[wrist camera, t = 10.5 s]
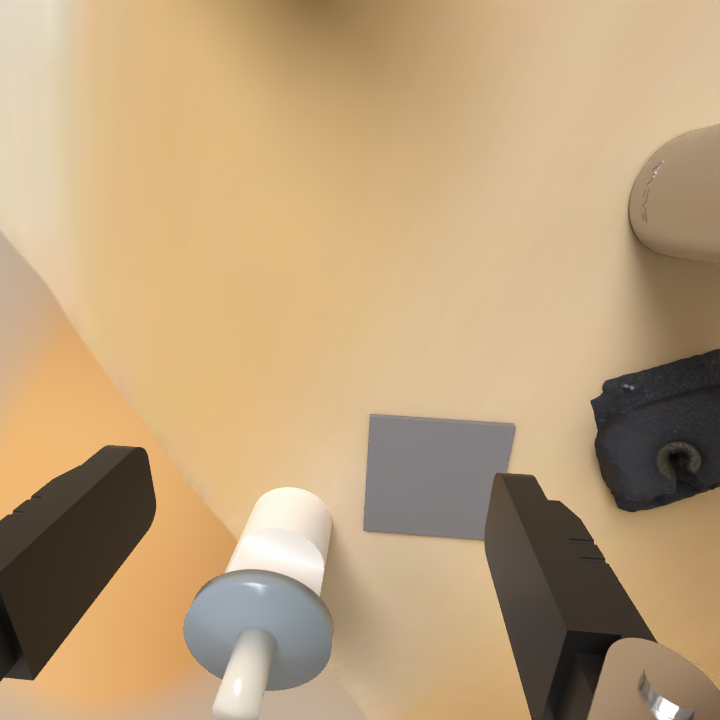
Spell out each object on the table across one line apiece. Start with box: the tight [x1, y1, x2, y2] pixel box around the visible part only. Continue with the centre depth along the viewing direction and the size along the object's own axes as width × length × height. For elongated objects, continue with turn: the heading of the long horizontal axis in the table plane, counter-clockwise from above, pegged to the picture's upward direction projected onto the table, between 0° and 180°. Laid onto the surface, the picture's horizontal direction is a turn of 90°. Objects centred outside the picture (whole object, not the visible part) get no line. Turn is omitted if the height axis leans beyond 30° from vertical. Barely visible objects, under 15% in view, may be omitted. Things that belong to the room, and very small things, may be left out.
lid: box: [183, 569, 333, 720], centre depth 31 cm, size 12×12×6 cm
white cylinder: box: [225, 487, 332, 597], centre depth 39 cm, size 9×9×12 cm
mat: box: [363, 414, 515, 540], centre depth 42 cm, size 14×14×1 cm
